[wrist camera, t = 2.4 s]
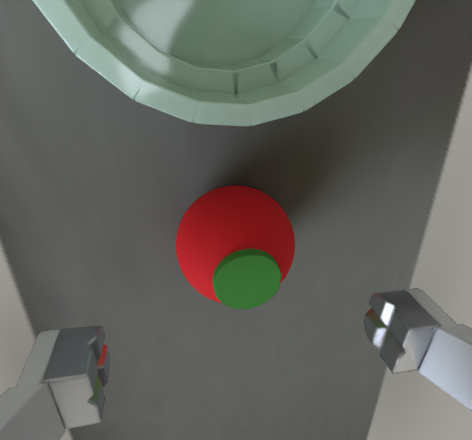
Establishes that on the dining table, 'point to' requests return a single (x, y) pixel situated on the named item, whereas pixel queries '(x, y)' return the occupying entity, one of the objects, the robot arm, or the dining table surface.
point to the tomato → (235, 246)
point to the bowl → (227, 51)
